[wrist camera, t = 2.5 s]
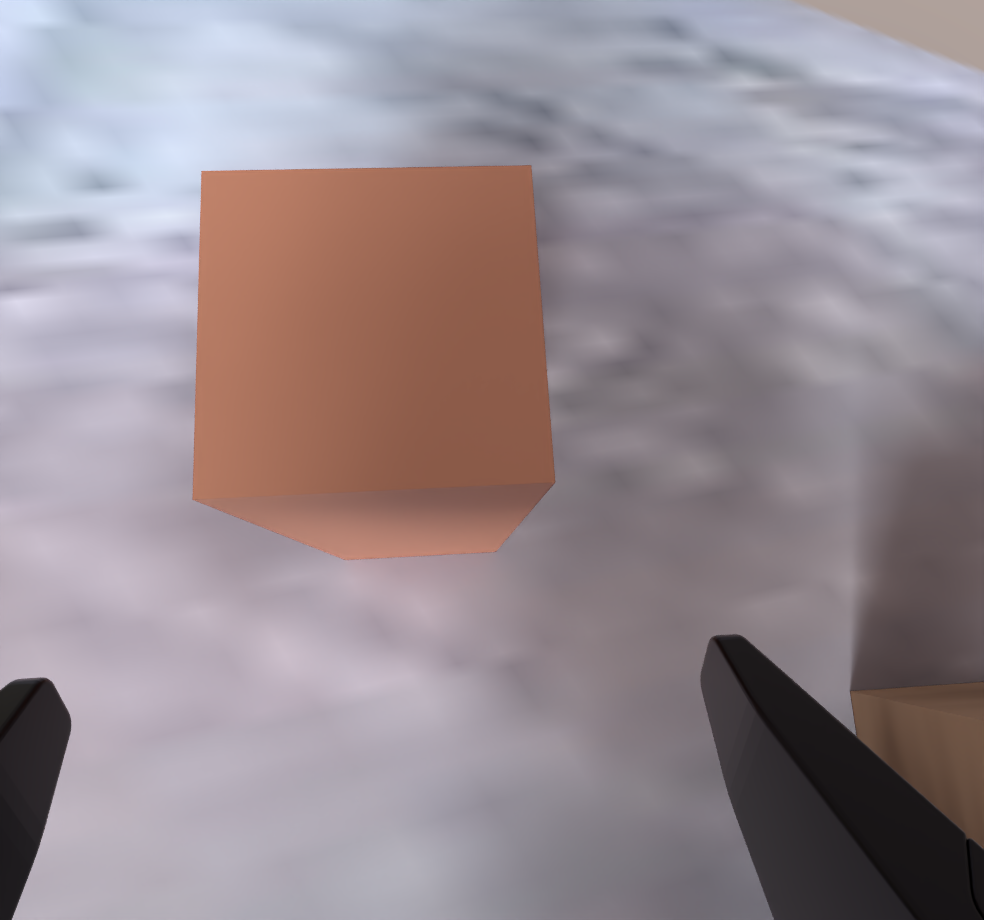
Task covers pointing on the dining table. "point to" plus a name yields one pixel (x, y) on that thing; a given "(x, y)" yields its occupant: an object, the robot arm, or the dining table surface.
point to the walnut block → (931, 744)
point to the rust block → (372, 357)
